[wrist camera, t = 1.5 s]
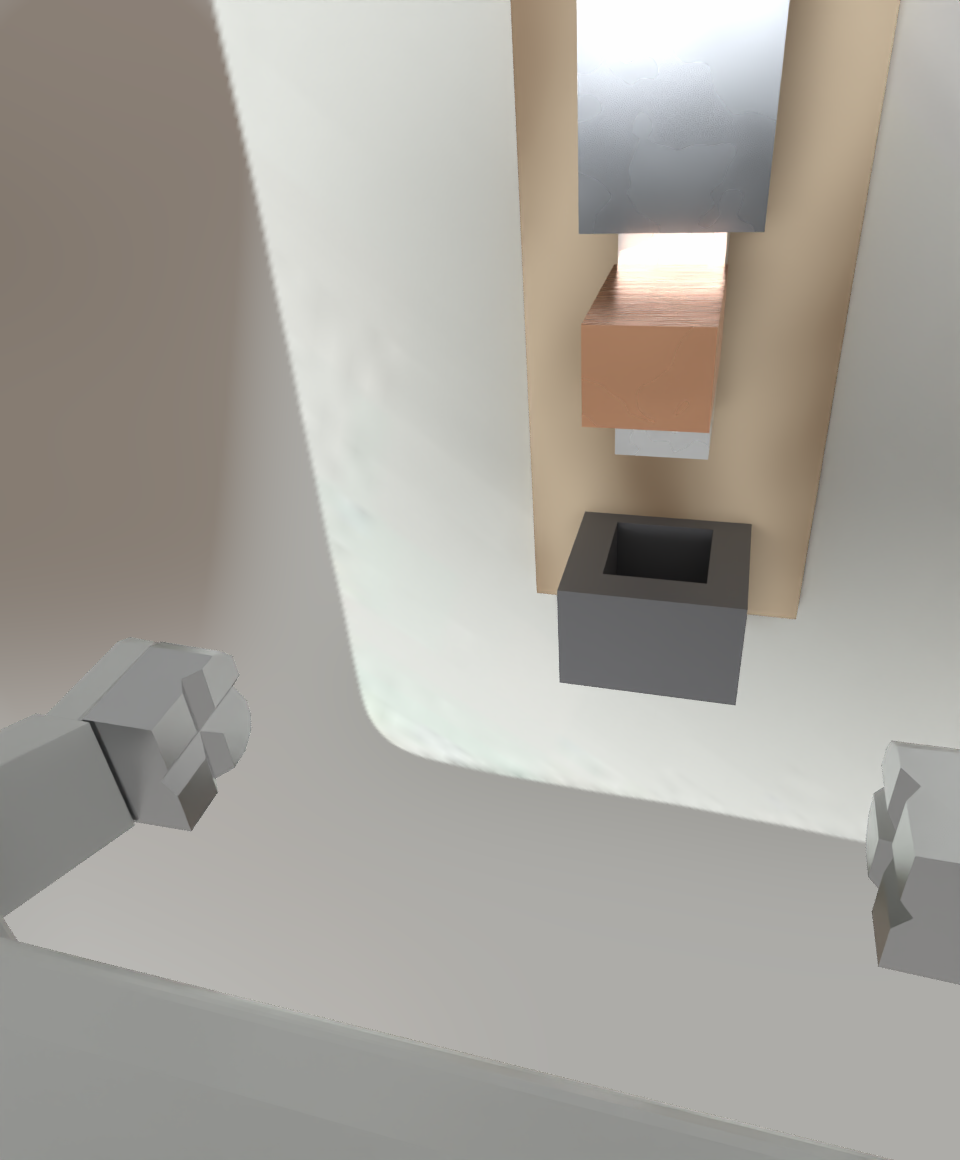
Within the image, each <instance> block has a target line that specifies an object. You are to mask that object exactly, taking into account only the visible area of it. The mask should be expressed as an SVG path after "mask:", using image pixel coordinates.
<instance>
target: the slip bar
mask: <svg viewBox="0 0 960 1160" xmlns="http://www.w3.org/2000/svg"><path fill="white" fill-rule="evenodd" d="M729 238H730V232H723V233H631V234H618V264H614V266H613V267H612V269H611V271H610V273H609V275H608V276H607V278H606V280H605V282H604V284H603V286H602V287H601V289H600V291H599V293H598V295H597V297H596V298H595V300H594V302H593V304H592V306H591V307H590V309H589V311H588V313H587V315H586V317H585V318H584V320H583V322H582V324H581V395H582V427H594V428H614V429H615V454H617V455H635V456H652V457H669V458H687V459H704V460H708V457H709V450H710V443H711V436H712V429H713V422H714V411H715V400H716V388H717V377H718V371H719V364H720V357H721V346H722V335H723V323H724V312H725V300H726V289H727V278H728V266H729V264H727V261H728V249H729Z"/></svg>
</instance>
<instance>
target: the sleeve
mask: <svg viewBox="0 0 960 1160" xmlns="http://www.w3.org/2000/svg"><path fill="white" fill-rule="evenodd" d="M789 1H790V0H577V95H578V215H579V234H631V233H723V232H765V223H766V214H767V204H768V195H769V186H770V177H771V167H772V158H773V149H774V140H775V130H776V121H777V112H778V103H779V93H780V84H781V75H782V66H783V56H784V47H785V38H786V29H787V19H788V10H789Z"/></svg>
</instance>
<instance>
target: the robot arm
mask: <svg viewBox="0 0 960 1160" xmlns="http://www.w3.org/2000/svg"><path fill="white" fill-rule="evenodd" d="M238 677H239V672H238V670H237V667H236V664H235V661H234V658H233V656H232V655H229V654H227V653H225V652H222V651H215V650H210V649H204V648H197V647H191V646H184V645H179V644H172V643H166V642H154V641H148V640H143V639H136V638H131V637H130V638H127V639H124V640H121V641H118V642H117V643H116V644H115V645H114V646H113V647H112V648H111V649H110V650H109V651H108V652H107V653H106V654H105V655H104V656H103V657H102V658H101V659H100V660H99V661H98V662H97V664H95V665H94V666H93V667H92V668H91V669H90V670H89V672H87V673H86V675H85V676H84V677H83V678H82V679H81V680H80V681H79V682H78V683H77V684H76V685H75V686H74V687H73V688H72V689H71V690H70V691H69V692H68V693H67V694H66V695H65V696H64V697H63V698H62V699H61V700H60V701H59V702H58V703H57V704H56V705H55V706H54V707H53V708H52V709H51V710H50V711H49V712H48V713H47V714H46V715H42V714H34V715H32V716H30V717H27V718H25V719H23V720H21V721H18V722H17V723H14V724H12V725H10V726H8V727H6V728H3V729H1V730H0V1160H892V1159H888V1158H884V1157H880V1156H876V1155H872V1154H868V1153H864V1152H860V1151H856V1150H852V1149H848V1148H844V1147H840V1146H836V1145H832V1144H828V1143H824V1142H820V1141H816V1140H812V1139H808V1138H804V1137H800V1136H796V1135H792V1134H788V1133H784V1132H780V1131H776V1130H772V1129H768V1128H764V1127H760V1126H756V1125H752V1124H748V1123H744V1122H740V1121H736V1120H732V1119H728V1118H724V1117H720V1116H716V1115H712V1114H708V1113H704V1112H700V1111H696V1110H692V1109H688V1108H684V1107H680V1106H676V1105H672V1104H668V1103H664V1102H660V1101H656V1100H652V1099H648V1098H644V1097H640V1096H636V1095H632V1094H627V1093H624V1092H620V1091H616V1090H612V1089H607V1088H604V1087H600V1086H596V1085H592V1084H588V1083H584V1082H580V1081H576V1080H572V1079H568V1078H564V1077H560V1076H556V1075H552V1074H548V1073H544V1072H540V1071H536V1070H532V1069H528V1068H524V1067H520V1066H516V1065H511V1064H508V1063H504V1062H500V1061H496V1060H492V1059H488V1058H483V1057H480V1056H475V1055H472V1054H468V1053H464V1052H460V1051H456V1050H452V1049H447V1048H444V1047H440V1046H436V1045H432V1044H428V1043H424V1042H420V1041H416V1040H412V1039H408V1038H404V1037H399V1036H395V1035H391V1034H387V1033H383V1032H379V1031H375V1030H371V1029H367V1028H363V1027H359V1026H355V1025H351V1024H347V1023H343V1022H339V1021H335V1020H331V1019H327V1018H323V1017H319V1016H315V1015H311V1014H307V1013H303V1012H298V1011H294V1010H291V1009H287V1008H283V1007H279V1006H275V1005H271V1004H266V1003H263V1002H259V1001H255V1000H251V999H246V998H242V997H238V996H234V995H230V994H226V993H222V992H218V991H214V990H210V989H206V988H202V987H198V986H194V985H190V984H186V983H182V982H178V981H174V980H170V979H166V978H162V977H158V976H154V975H150V974H146V973H142V972H138V971H134V970H130V969H126V968H122V967H118V966H114V965H110V964H106V963H102V962H98V961H94V960H90V959H86V958H82V957H78V956H74V955H70V954H66V953H62V952H58V951H54V950H50V949H46V948H42V947H38V946H34V945H30V944H26V943H22V942H18V940H17V939H16V937H15V936H14V934H13V932H12V931H11V929H10V928H9V926H8V925H7V923H6V922H5V920H4V918H3V917H5V916H6V915H7V914H9V913H10V912H12V911H13V910H14V909H16V908H17V907H19V906H20V905H22V904H23V903H25V902H26V901H27V900H29V899H30V898H32V897H33V896H35V895H36V894H37V893H39V892H40V891H42V890H43V889H45V888H46V887H47V886H49V885H50V884H52V883H53V882H54V881H56V880H57V879H59V878H60V877H62V876H63V875H65V874H66V873H67V872H69V871H70V870H72V869H73V868H74V867H76V866H77V865H78V864H80V863H82V862H83V861H85V860H86V859H87V858H89V857H90V856H92V855H93V854H94V853H96V852H97V851H99V850H100V849H102V848H103V847H105V846H106V845H107V844H109V843H110V842H112V841H113V840H115V839H116V838H118V837H119V836H120V835H122V834H123V833H125V832H126V831H128V830H129V829H130V828H132V827H133V826H134V825H135V823H134V822H139V823H144V824H150V825H156V826H162V827H168V828H175V829H181V830H187V831H192V830H193V828H194V826H195V825H196V824H197V822H198V821H199V819H200V818H201V816H202V815H203V814H204V812H205V811H206V809H207V808H208V806H209V805H210V803H211V802H212V800H213V799H214V797H215V796H216V794H217V793H218V792H217V783H216V778H217V777H219V776H221V775H222V774H224V773H226V772H228V771H229V770H231V769H233V768H235V766H236V764H237V763H238V761H239V760H240V758H241V757H242V755H243V753H244V752H245V749H246V746H247V743H248V739H249V736H250V732H251V713H250V709H249V706H248V702H247V700H246V699H245V698H244V697H243V696H242V695H241V694H240V693H239V692H238V691H237V689H235V687H233V685H234V683H235V682H236V680H237V678H238ZM881 766H882V774H883V782H884V787H883V788H882V789H880V790H878V791H877V792H875V793H874V794H873V798H872V802H871V807H870V811H869V815H868V825H867V834H866V859H867V870H868V877H869V878H870V879H871V881H872V882H873V883H874V884H875V885H876V886H877V887H878V893H877V896H876V899H875V903H874V906H873V910H872V918H873V926H874V935H875V943H876V952H877V960H878V967H882V968H887V969H891V970H896V971H900V972H905V973H909V974H914V975H918V976H923V977H928V978H932V979H937V980H941V981H945V982H950V983H954V984H959V985H960V749H955V748H947V747H939V746H931V745H923V744H915V743H907V742H899V741H891V742H890V744H889V745H888V747H887V749H886V752H885V755H884V758H883V762H882V765H881Z"/></svg>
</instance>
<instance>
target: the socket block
mask: <svg viewBox="0 0 960 1160" xmlns="http://www.w3.org/2000/svg"><path fill="white" fill-rule="evenodd" d="M751 529H752V524H745V523H731V522H718V521H705V520H692V519H678V518H665V517H652V516H639V515H626V514H612V513H599V512H586V511H585V513H584V516H583V519H582V522H581V524H580V527H579V530H578V533H577V536H576V539H575V541H574V544H573V547H572V550H571V553H570V556H569V558H568V561H567V564H566V567H565V570H564V573H563V575H562V578H561V581H560V584H559V587H558V589H557V603H558V639H559V674H560V682H561V683H568V684H576V685H584V686H592V687H599V688H607V689H615V690H622V691H630V692H638V693H645V694H653V695H661V696H669V697H676V698H684V699H692V700H699V701H707V702H715V703H722V704H730V705H735V704H736V696H737V689H738V681H739V673H740V665H741V657H742V649H743V642H744V634H745V626H746V618H747V610H748V590H749V570H750V549H751Z"/></svg>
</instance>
